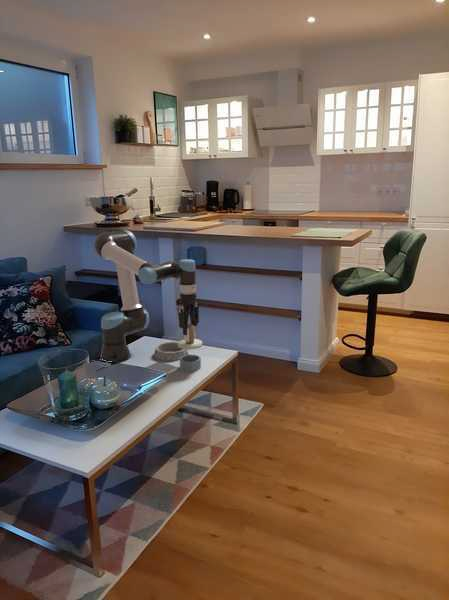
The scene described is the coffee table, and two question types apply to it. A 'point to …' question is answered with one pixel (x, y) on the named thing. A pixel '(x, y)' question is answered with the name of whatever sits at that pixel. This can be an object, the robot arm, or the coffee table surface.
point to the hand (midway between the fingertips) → (189, 339)
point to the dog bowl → (169, 355)
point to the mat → (162, 367)
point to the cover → (190, 340)
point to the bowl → (190, 363)
